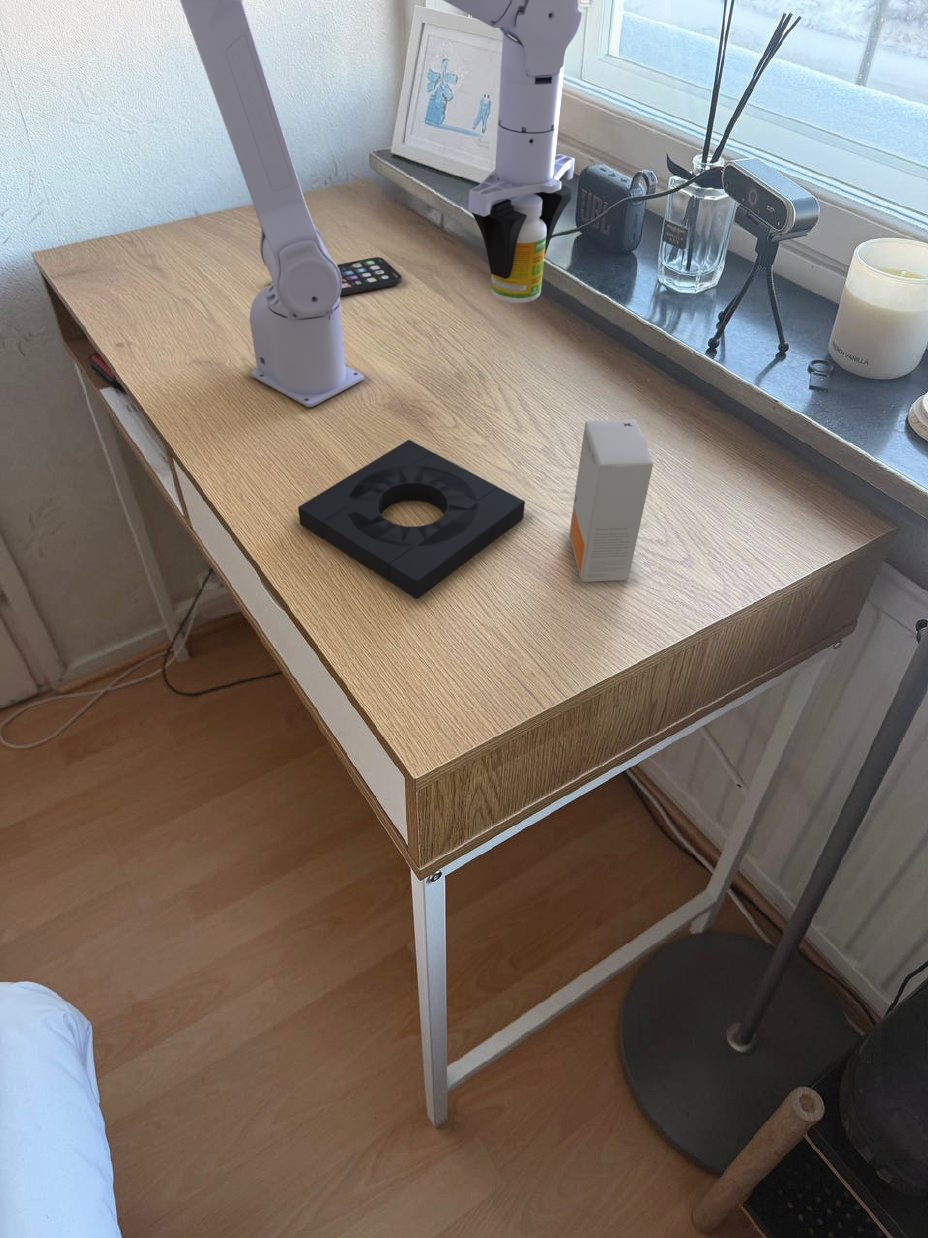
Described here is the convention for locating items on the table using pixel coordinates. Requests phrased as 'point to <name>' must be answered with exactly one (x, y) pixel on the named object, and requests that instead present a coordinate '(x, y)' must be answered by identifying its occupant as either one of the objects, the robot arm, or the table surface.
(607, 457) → the cosmetic box
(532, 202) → the supplement bottle
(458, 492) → the socket pad
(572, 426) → the table surface
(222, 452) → the table surface
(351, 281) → the smartphone
